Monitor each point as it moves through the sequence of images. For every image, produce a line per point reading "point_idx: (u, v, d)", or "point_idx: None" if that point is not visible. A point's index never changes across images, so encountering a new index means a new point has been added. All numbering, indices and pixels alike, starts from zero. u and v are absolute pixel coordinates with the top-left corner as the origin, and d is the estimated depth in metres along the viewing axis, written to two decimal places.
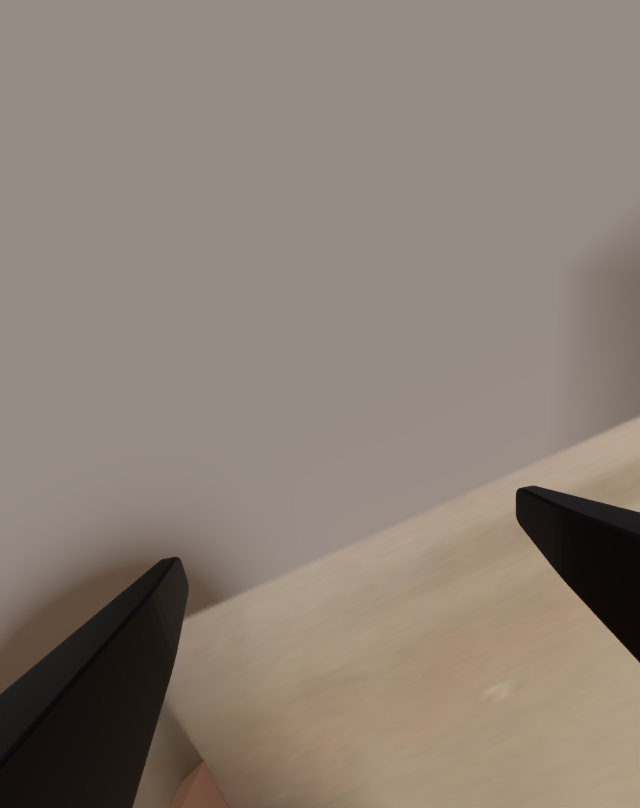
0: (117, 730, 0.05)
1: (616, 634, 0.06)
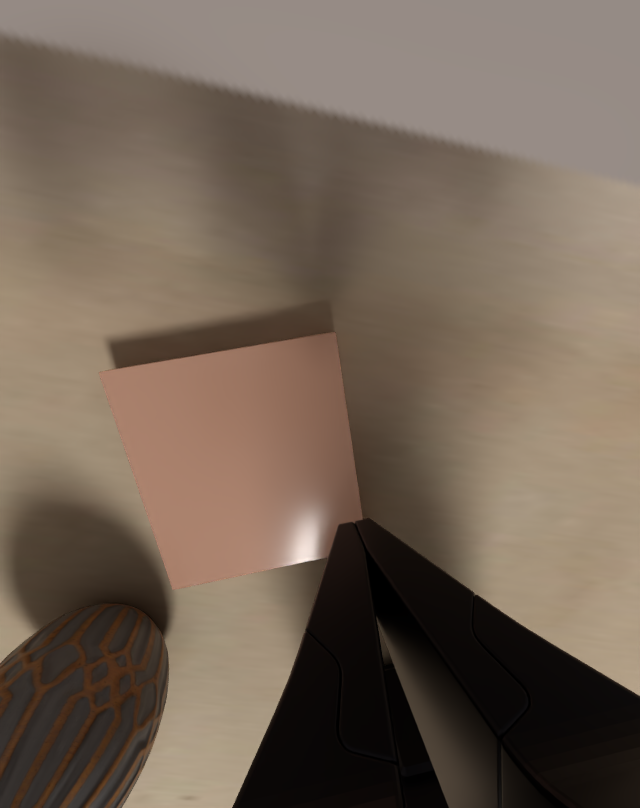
0: None
1: (402, 684, 0.06)
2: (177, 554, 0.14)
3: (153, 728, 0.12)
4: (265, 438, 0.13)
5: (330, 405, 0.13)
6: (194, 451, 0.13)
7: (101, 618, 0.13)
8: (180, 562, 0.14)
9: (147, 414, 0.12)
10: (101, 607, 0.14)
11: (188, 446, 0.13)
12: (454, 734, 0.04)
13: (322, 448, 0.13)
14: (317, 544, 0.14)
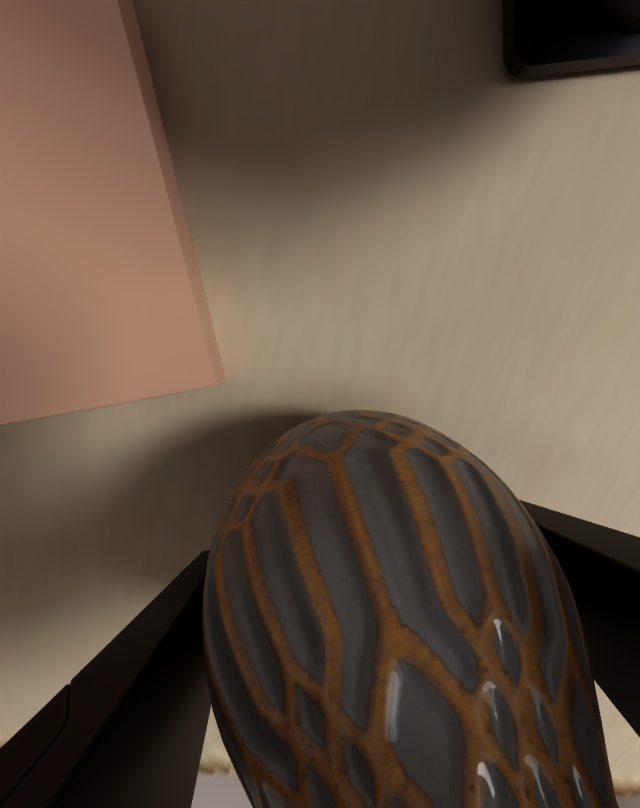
0: (180, 716, 0.05)
1: None
2: (141, 372, 0.08)
3: (384, 428, 0.06)
4: None
5: None
6: None
7: None
8: (158, 368, 0.08)
9: None
10: None
11: None
12: None
13: None
14: (97, 76, 0.06)
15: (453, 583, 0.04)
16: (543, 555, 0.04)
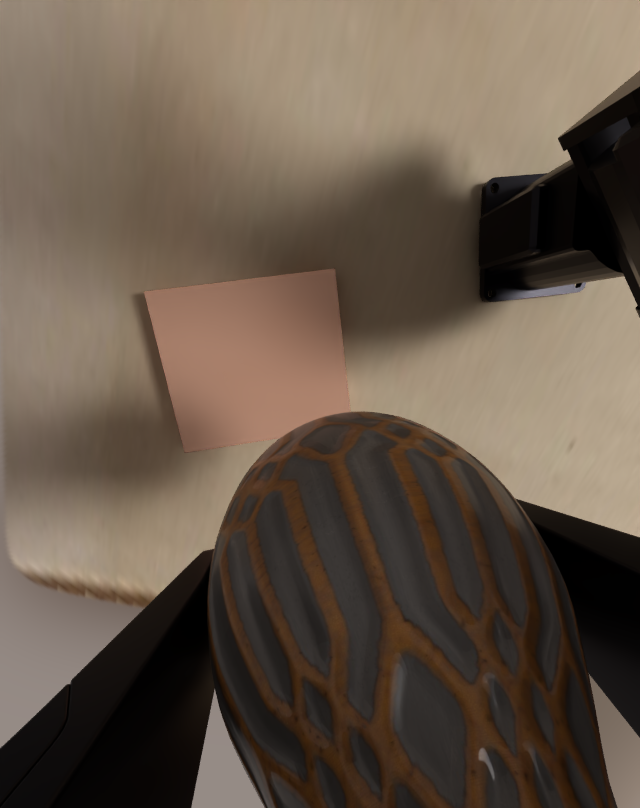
0: (180, 716, 0.05)
1: None
2: None
3: (384, 430, 0.06)
4: (230, 350, 0.17)
5: (202, 297, 0.16)
6: (240, 401, 0.18)
7: None
8: None
9: (213, 428, 0.18)
10: None
11: (236, 404, 0.18)
12: None
13: (239, 305, 0.17)
14: (325, 313, 0.17)
15: (453, 580, 0.04)
16: (539, 551, 0.05)
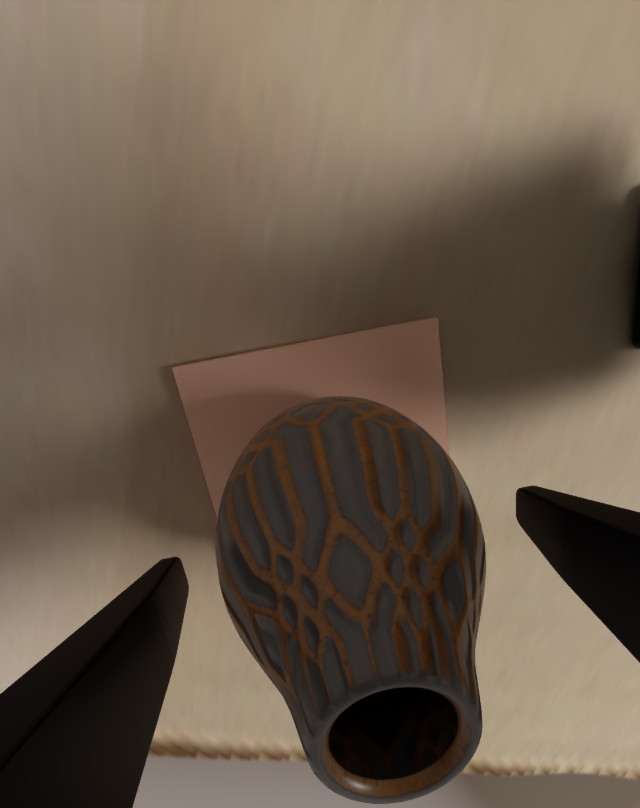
0: (117, 730, 0.05)
1: (616, 634, 0.06)
2: None
3: (353, 406, 0.08)
4: None
5: (255, 370, 0.12)
6: None
7: None
8: None
9: None
10: None
11: None
12: None
13: (305, 377, 0.12)
14: (423, 378, 0.12)
15: (381, 497, 0.06)
16: (453, 491, 0.06)
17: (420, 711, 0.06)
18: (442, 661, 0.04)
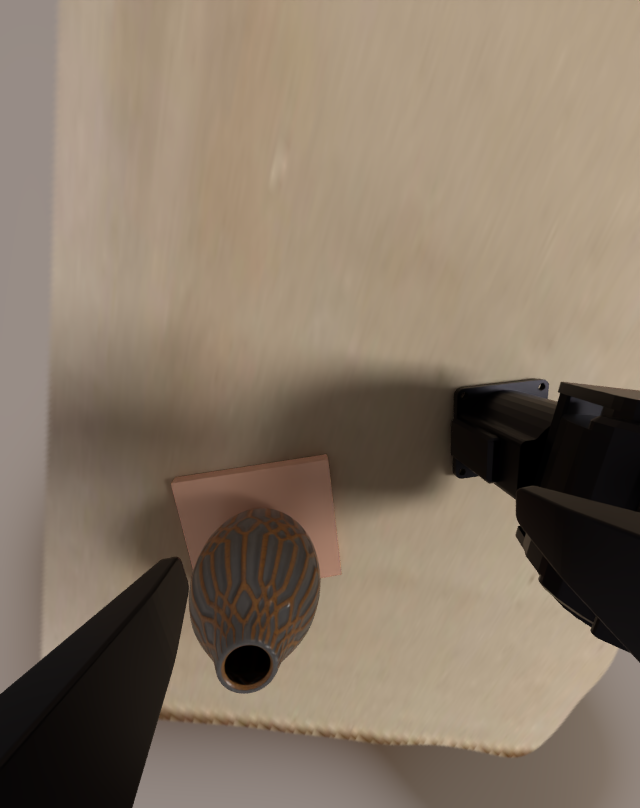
0: (117, 730, 0.05)
1: (616, 634, 0.06)
2: None
3: (267, 524, 0.16)
4: None
5: (219, 485, 0.20)
6: None
7: None
8: (322, 569, 0.22)
9: None
10: None
11: None
12: None
13: (248, 490, 0.20)
14: (320, 492, 0.21)
15: (264, 575, 0.14)
16: (299, 574, 0.15)
17: (267, 671, 0.14)
18: (266, 638, 0.12)
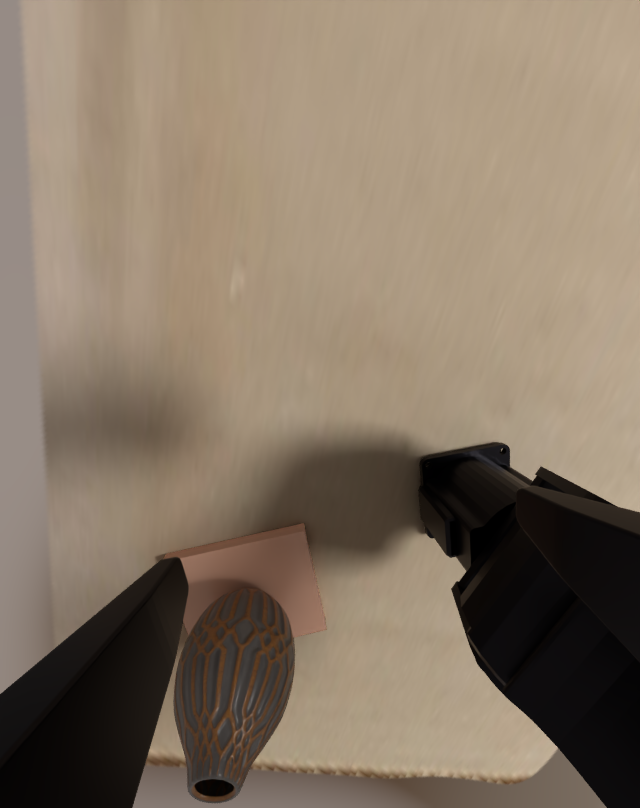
0: (117, 730, 0.05)
1: (616, 634, 0.06)
2: (302, 628, 0.24)
3: (262, 638, 0.18)
4: (228, 591, 0.22)
5: (205, 561, 0.22)
6: None
7: (205, 612, 0.20)
8: (308, 626, 0.24)
9: None
10: (209, 606, 0.21)
11: None
12: None
13: (233, 562, 0.22)
14: (299, 559, 0.22)
15: (248, 705, 0.16)
16: (277, 702, 0.17)
17: None
18: (236, 774, 0.14)
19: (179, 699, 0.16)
